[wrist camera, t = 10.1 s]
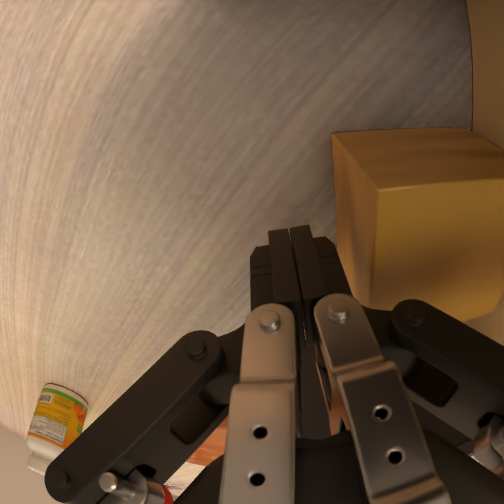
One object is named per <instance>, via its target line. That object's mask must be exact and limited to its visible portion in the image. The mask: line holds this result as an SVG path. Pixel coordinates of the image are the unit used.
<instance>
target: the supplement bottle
mask: <svg viewBox="0 0 504 504" xmlns="http://www.w3.org/2000/svg"><path fill="white" fill-rule="evenodd" d="M87 410H88V405H87V403H86V402H85V400H84V399H83V398H81V397H80V396H79V395H77V394H76V393H74V392H72V391H70V390H68V389H66V388H63V387H61V386H58V385H53V384H47V385H45V386H44V387H43V389H42V392H41V394H40V397H39V400H38V403H37V406H36V409H35V412H34V415H33V419H32V422H31V425H30V428H29V432H28V436H27V445H28V446H29V448H30V449H31V450H32V455H30V456H29V457H28V462H27V467H28V468H30V469H31V470H33V471H35V472H38V473H39V474H42V475H44V476H45V472H46V469H47V467H48V465H49V464H50V463H51V462H52V461H53V460H54V459H55V458H56V457H57V456H58V455H59V454H60V453H61V452H63V451H64V450H65V449H66V448H67V447H68V446H69V445H70V444H71V443H72V442H73V441H74V440H75V439H76V438H77V437H78V436H80V435H81V434H82V429H83V425H84V421H85V417H86V414H87Z"/></svg>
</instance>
